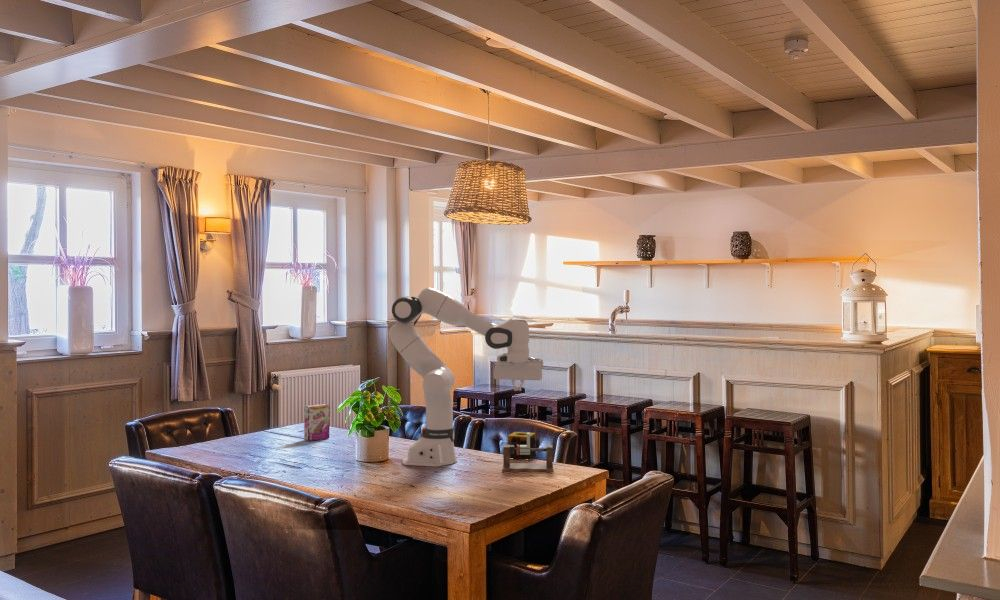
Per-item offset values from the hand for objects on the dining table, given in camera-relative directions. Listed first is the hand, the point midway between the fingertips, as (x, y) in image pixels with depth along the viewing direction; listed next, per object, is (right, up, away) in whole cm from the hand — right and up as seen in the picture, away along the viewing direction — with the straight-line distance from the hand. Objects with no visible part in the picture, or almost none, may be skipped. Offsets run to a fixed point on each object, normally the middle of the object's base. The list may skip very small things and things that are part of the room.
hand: (517, 390), depth 330 cm
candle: (+2, -30, +10) cm, 32 cm away
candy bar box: (-95, -29, +52) cm, 112 cm away
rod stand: (+4, -30, -13) cm, 33 cm away
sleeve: (+3, -24, -13) cm, 27 cm away
